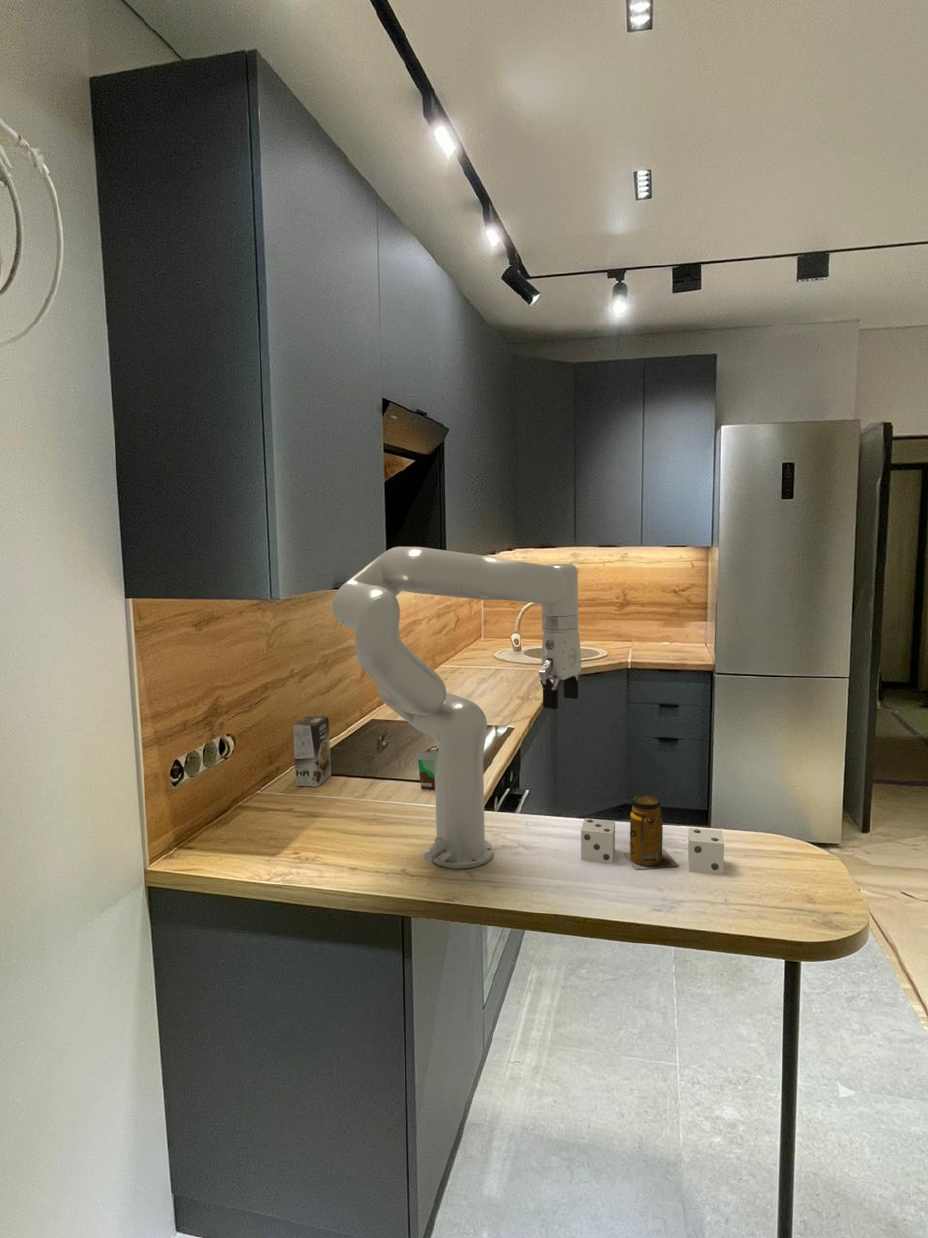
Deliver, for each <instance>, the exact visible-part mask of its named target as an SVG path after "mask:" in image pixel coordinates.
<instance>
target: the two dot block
mask: <svg viewBox="0 0 928 1238" xmlns="http://www.w3.org/2000/svg"><path fill="white" fill-rule="evenodd" d="M724 841H725V840H724V836H723V830H719V829H707V828H696V827H695V828H694V827H688V845H687V846H688V850H687V851H688V852H687V853H688V855H687V857H688V872H691V873H692V872H693V873H704V874H711V875H712V874H713V875H722V876H723V875H724V864H725V861H724V857H725V842H724Z"/></svg>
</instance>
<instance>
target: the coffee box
mask: <svg viewBox="0 0 928 1238" xmlns="http://www.w3.org/2000/svg"><path fill="white" fill-rule="evenodd" d="M329 718H330V717H329V716H323V715H322V716H320V715H318V716H314V715H313V716H309V715H307V716H305V717H304V718H302V719H300V720H299V721H297V722H295V723H294V724H292V731H293V733H292V734H293V735H292V736H293V750H294V751H293V757H294V772H295V773H294V775H295V776H294V777H295V786H298V787H299V786H300V787H313V788H317V787H320V786H321V784H323V783H324V782H325V781H326V780H327V779H329V777H331V776H332V766H331V765H332V764H331V763H332V761H331V744H330V741H331V740H330V719H329Z"/></svg>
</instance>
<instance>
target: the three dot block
mask: <svg viewBox="0 0 928 1238" xmlns="http://www.w3.org/2000/svg"><path fill="white" fill-rule="evenodd" d="M615 852H616V821H615V820H608V819H607V820H605V819H595V818H584V819H583V822H582V826H581V829H580V856H581V857H580V861H589V862H590V861H591V862H599V863H610V864H613V863H614V857H615Z"/></svg>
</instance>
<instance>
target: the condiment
mask: <svg viewBox="0 0 928 1238" xmlns="http://www.w3.org/2000/svg"><path fill="white" fill-rule="evenodd" d="M631 803H632V804H631V805H632V807H631V810H632V811H631V812H630V814H629V815H630V817H629V821H630V822H629V823H630V825H629V846H630V847H629V852H623V854H624V855H625V857H626V859H627V860H628V862H629V863H631V865H632V866H633V867H634V869H635V870H647V869H659V868H660V869H661V868H671V867H679V866H680V865H679V864H678V863H677V862H676V861H675V860H674V859H673V857H672V856H671V855H670V853H668V851H667V850H666V849H663V833H664V832H663V830H664V829H663V819H664V818H663V814H662V813H661V812H662V808H661V807H662V806H661V805H662V803H661V801H660V800H659V799H658V798H657V797H654V796H650V795H648V796H647V795H641V796H640V795H638V796H636V797H634V798H633V799H632V802H631Z"/></svg>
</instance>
